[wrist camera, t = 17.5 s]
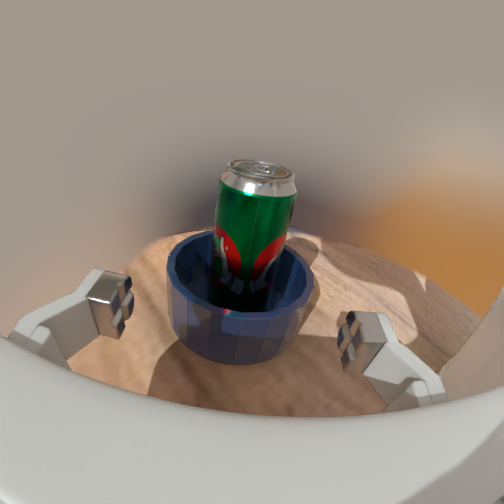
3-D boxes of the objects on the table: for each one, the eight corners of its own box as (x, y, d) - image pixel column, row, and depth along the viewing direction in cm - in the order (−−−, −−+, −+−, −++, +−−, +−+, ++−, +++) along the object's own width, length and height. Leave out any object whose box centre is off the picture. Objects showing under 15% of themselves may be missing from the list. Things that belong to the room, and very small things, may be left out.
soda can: (264, 293, 25) (294, 165, 19) (266, 333, 21) (307, 186, 15) (210, 286, 25) (225, 154, 18) (203, 326, 20) (217, 172, 14)
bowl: (166, 365, 17) (160, 317, 15) (172, 270, 26) (172, 226, 24) (313, 359, 20) (336, 315, 17) (279, 274, 29) (290, 233, 26)
